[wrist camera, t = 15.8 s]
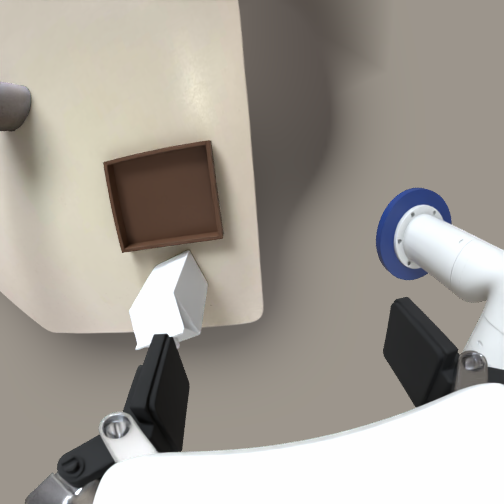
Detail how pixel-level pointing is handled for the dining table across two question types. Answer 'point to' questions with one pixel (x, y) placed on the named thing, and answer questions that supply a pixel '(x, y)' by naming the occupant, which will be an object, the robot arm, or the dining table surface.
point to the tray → (165, 197)
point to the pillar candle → (13, 105)
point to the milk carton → (170, 301)
